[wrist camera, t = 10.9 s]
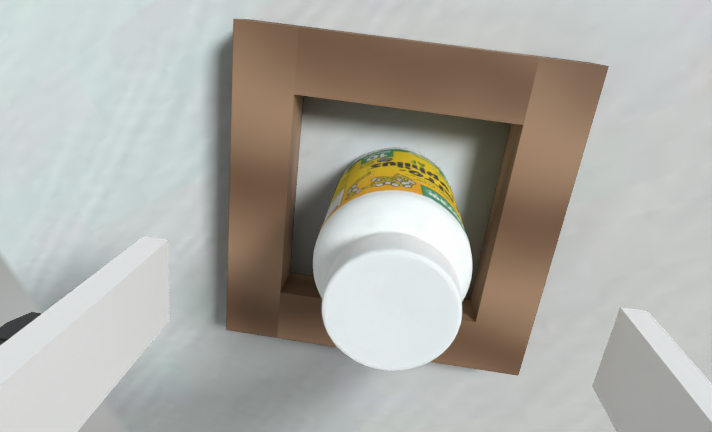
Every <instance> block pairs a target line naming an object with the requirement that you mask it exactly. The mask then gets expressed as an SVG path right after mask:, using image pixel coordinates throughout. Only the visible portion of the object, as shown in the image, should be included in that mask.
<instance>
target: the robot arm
mask: <svg viewBox="0 0 712 432" xmlns="http://www.w3.org/2000/svg"><path fill="white" fill-rule="evenodd" d="M169 321H170V292H169V240H166V239H159V238H152V237H146V236H143V237H142V238H140V239H139V240H138V241H136V242H135V243H134V244H133V245H131V246H130V247H129V248H127V249H126V250H125V251H123V252H122V253H121V254H119V255H118V256H117V257H116V258H114V259H113V260H112V261H110V262H109V263H108V264H106V265H105V266H104V267H102V268H101V269H100V270H99V271H97V272H96V273H95V274H93V275H92V276H91V277H89V278H88V279H87V280H85V281H84V282H83V283H82V284H80V285H79V286H78V287H76V288H75V289H74V290H72V291H71V292H70V293H68V294H67V295H66V296H64V297H63V298H62V299H61V300H59V301H58V302H57V303H55V304H54V305H53V306H51V307H50V308H49V309H47V310H46V311H45V312H44V313H42V314H41V313H34V312H31V313H29V314H26V315H24V316H22V317H19V318H17V319H14V320H12V321H10V322H7V323H6V324H4V325H3V326H2V327H1V328H0V432H78V430H79V429H80V428H81V427H82V426H83V424H84V423H85V422H86V421H87V420H88V418H89V417H90V416H91V415H92V414H93V412H94V411H95V410H96V409H97V408H98V406H99V405H100V404H101V403H102V401H103V400H104V399H105V398H106V397H107V395H108V394H109V393H110V392H111V391H112V389H113V388H114V387H115V386H116V385H117V383H118V382H119V381H120V380H121V379H122V377H123V376H124V375H125V374H126V373H127V371H128V370H129V369H130V368H131V366H132V365H133V364H134V363H135V362H136V360H137V359H138V358H139V357H140V356H141V354H142V353H143V352H144V351H145V350H146V348H147V347H148V346H149V345H150V344H151V342H152V341H153V340H154V339H155V338H156V336H157V335H158V334H159V333H160V331H161V330H162V329H163V328H164V327H165V325H166V324H167V323H168V322H169ZM593 388H594V390H595V392H596V394H597V396H598V397H599V399H600V401H601V403H602V405H603V407H604V409H605V411H606V412H607V414H608V416H609V418H610V420H611V422H612V424H613V426H614V427H615V429H616V431H617V432H712V383H711V382H710V381H709V380H708V379H707V378H706V377H705V375H704V374H703V373H702V372H701V371H700V370H699V369H698V368H697V366H696V365H695V364H694V363H693V362H692V361H691V360H690V358H689V357H688V356H687V355H686V354H685V353H684V352H683V351H682V349H681V348H680V347H679V346H678V345H677V344H676V343H675V341H674V340H673V339H672V338H671V337H670V336H669V335H668V334H667V332H666V331H665V330H664V329H663V328H662V327H661V326H660V324H659V323H658V322H657V321H656V320H655V319H654V318H653V317H652V315H651V314H650V313H649V312H648V311H642V310H636V309H629V308H622V307H620V309H619V312H618V315H617V318H616V321H615V324H614V326H613V329H612V332H611V335H610V338H609V341H608V344H607V346H606V349H605V352H604V355H603V358H602V361H601V363H600V366H599V369H598V372H597V375H596V378H595V380H594V383H593Z"/></svg>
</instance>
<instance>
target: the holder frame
mask: <svg viewBox="0 0 712 432" xmlns="http://www.w3.org/2000/svg"><path fill="white" fill-rule="evenodd" d="M608 67H609V66H605V65H600V64H594V63H589V62H581V61H573V60H565V59H557V58H549V57H542V56H534V55H526V54H518V53H510V52H502V51H494V50H486V49H478V48H470V47H463V46H455V45H447V44H439V43H431V42H423V41H415V40H407V39H399V38H391V37H384V36H376V35H368V34H360V33H352V32H344V31H336V30H328V29H320V28H312V27H305V26H297V25H289V24H281V23H273V22H265V21H257V20H249V19H234V23H233V65H232V107H231V149H230V192H229V234H228V276H227V318H226V330H230V331H237V332H243V333H250V334H256V335H262V336H269V337H275V338H282V339H288V340H294V341H301V342H307V343H314V344H320V345H326V346H333V347H337V346H336V345H335V344H334V343H333V341H332V340H331V338H330V337H329V335H328V333H327V331H326V328H325V326H324V323H323V318H322V298H321V296H320V294H319V291H318V289H317V286H316V283H315V279H314V276H310V275H303V274H297V273H290V264H291V250H292V237H293V224H294V211H295V198H296V185H297V171H298V158H299V145H300V132H301V119H302V106H303V96H309V97H317V98H324V99H332V100H339V101H347V102H354V103H362V104H369V105H377V106H384V107H392V108H399V109H407V110H414V111H422V112H429V113H437V114H444V115H452V116H459V117H467V118H474V119H482V120H489V121H497V122H504V123H511V127H510V131H509V136H508V140H507V144H506V149H505V153H504V157H503V162H502V166H501V170H500V174H499V179H498V183H497V187H496V192H495V196H494V200H493V205H492V209H491V213H490V217H489V222H488V226H487V230H486V235H485V239H484V243H483V248H482V252H481V256H480V260H479V265H478V269H477V273H476V278H475V282H474V286H473V291H472V295H471V299H463V301H462V319H461V324H460V327H459V330H458V333H457V335H456V337H455V339H454V340H453V342H452V343H451V344H450V346H449V347H448V348H447V349H446V350H445V351H444V352H443V353H442V354H441V355H439V356H438V357H437V358H435V359H434V360H432V361H430V362H435V363H441V364H448V365H454V366H461V367H467V368H473V369H480V370H486V371H493V372H499V373H505V374H512V375H519V371H520V368H521V364H522V361H523V357H524V354H525V351H526V347H527V344H528V340H529V337H530V334H531V330H532V327H533V323H534V320H535V316H536V313H537V310H538V306H539V303H540V299H541V296H542V293H543V289H544V286H545V282H546V279H547V275H548V272H549V269H550V265H551V262H552V258H553V255H554V251H555V248H556V245H557V241H558V238H559V234H560V231H561V228H562V224H563V221H564V217H565V214H566V210H567V207H568V204H569V200H570V197H571V193H572V190H573V187H574V183H575V180H576V176H577V173H578V169H579V166H580V163H581V159H582V156H583V152H584V149H585V146H586V142H587V139H588V135H589V132H590V128H591V125H592V122H593V118H594V115H595V111H596V108H597V105H598V101H599V98H600V94H601V91H602V87H603V84H604V81H605V77H606V74H607V70H608Z"/></svg>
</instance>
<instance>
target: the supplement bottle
mask: <svg viewBox="0 0 712 432" xmlns="http://www.w3.org/2000/svg"><path fill="white" fill-rule="evenodd" d="M313 274H314V279H315V283H316V286H317V289H318V291H319V294H320V296H321V298H322V318H323V323H324V326H325V328H326V331H327V333H328V335H329V337H330V338H331V340H332V341H333V343H334V344H335V345H336V346H337V347H338V348H339V349H340V350H341V351H342V352H343V353H344V354H346V355H347V356H348V357H350V358H351V359H353V360H354V361H356V362H358V363H360V364H362V365H365V366H368V367H371V368H374V369H379V370H386V371H400V370H408V369H412V368H416V367H419V366H422V365H424V364H427V363H429V362H430V361H432V360H434V359H435V358H437V357H438V356H439V355H441V354H442V353H443V352H444V351H445V350H446V349H447V348H448V347H449V346H450V344H451V343H452V342H453V340H454V339H455V337H456V335H457V333H458V330H459V327H460V324H461V319H462V301H463V299H464V297H465V296H466V293H467V291H468V288H469V285H470V282H471V277H472V254H471V249H470V244H469V240H468V236H467V234H466V232H465V229H464V226H463V223H462V220H461V217H460V214H459V211H458V208H457V205H456V202H455V199H454V196H453V193H452V190H451V187H450V185H449V183H448V180H447V178H446V176H445V175H444V173H443V172H442V170H441V169H440V167H439V166H438V165H437V164H436V163H435V162H434V161H432V160H431V159H429V158H428V157H426V156H425V155H423V154H421V153H419V152H416V151H414V150H410V149H406V148H398V147H393V148H385V149H380V150H377V151H373V152H370V153H367V154H365V155H363V156H361V157H360V158H358V159H356V160H355V161H354V162H353V163H352V164H351V165H350V166H349V167H348V168H347V169H346V170H345V172H344V173H343V175H342V177H341V178H340V180H339V183H338V185H337V188H336V190H335V193H334V196H333V198H332V201H331V203H330V206H329V209H328V212H327V214H326V217H325V219H324V222H323V225H322V227H321V230H320V233H319V235H318V238H317V241H316V245H315V248H314V254H313Z"/></svg>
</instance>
